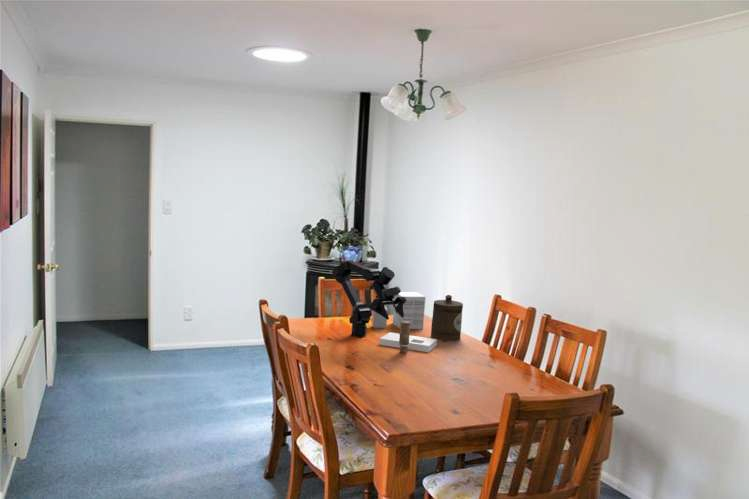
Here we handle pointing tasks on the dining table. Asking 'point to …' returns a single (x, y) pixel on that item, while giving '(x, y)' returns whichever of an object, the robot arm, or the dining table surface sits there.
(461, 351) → the dining table surface
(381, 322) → the can
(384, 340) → the grey board
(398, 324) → the supplement box
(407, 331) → the walnut peg
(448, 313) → the wooden container
